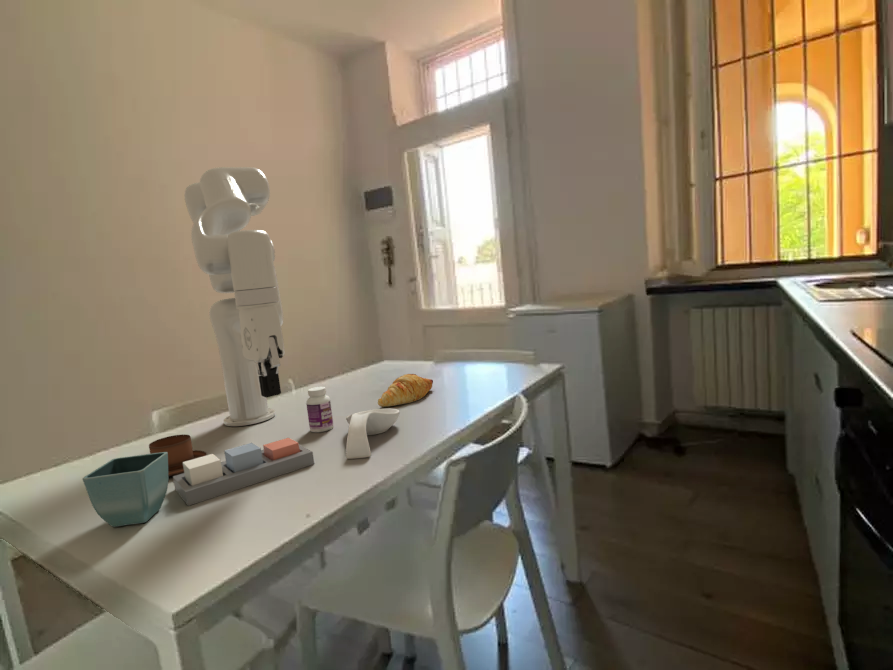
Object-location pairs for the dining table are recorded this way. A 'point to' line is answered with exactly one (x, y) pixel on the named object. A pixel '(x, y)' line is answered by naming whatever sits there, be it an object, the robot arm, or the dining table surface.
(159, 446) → the cup and saucer
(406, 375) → the croissant
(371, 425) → the spoon rest
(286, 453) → the key red
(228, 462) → the key blue
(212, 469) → the key white
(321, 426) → the pill bottle
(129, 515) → the flower pot
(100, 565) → the dining table surface
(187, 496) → the grey flat tray
